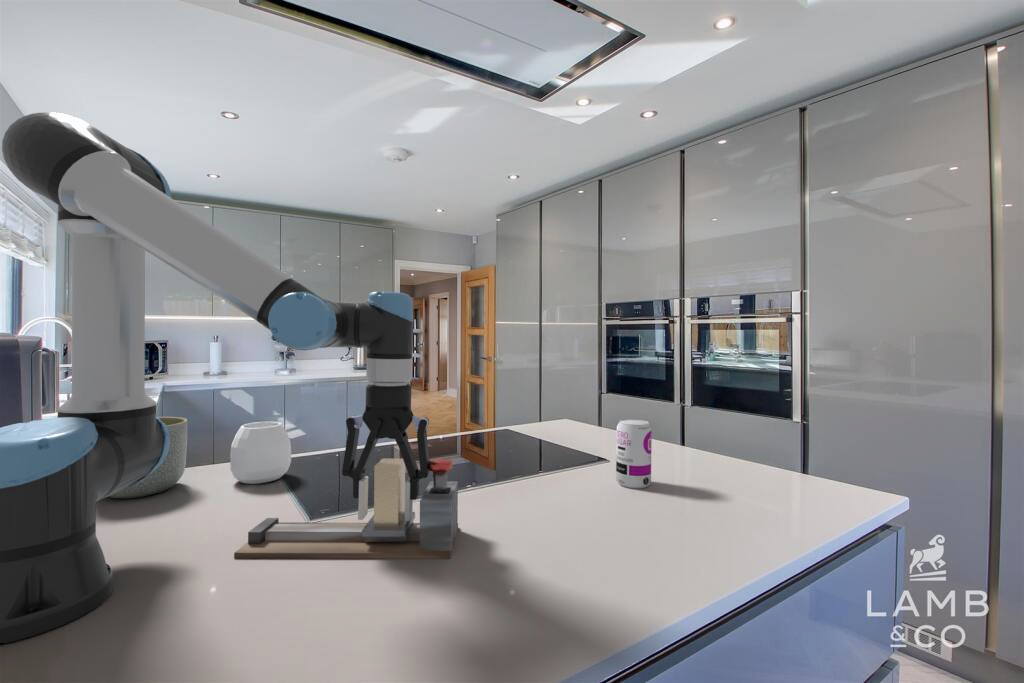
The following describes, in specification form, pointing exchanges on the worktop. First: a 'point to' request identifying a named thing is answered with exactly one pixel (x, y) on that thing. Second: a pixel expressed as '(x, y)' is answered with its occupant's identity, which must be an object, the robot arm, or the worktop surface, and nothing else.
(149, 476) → the planter
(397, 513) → the carriage
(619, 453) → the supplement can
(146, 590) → the worktop surface
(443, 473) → the red mushroom button
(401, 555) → the rail deck
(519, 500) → the worktop surface
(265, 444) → the white vase
